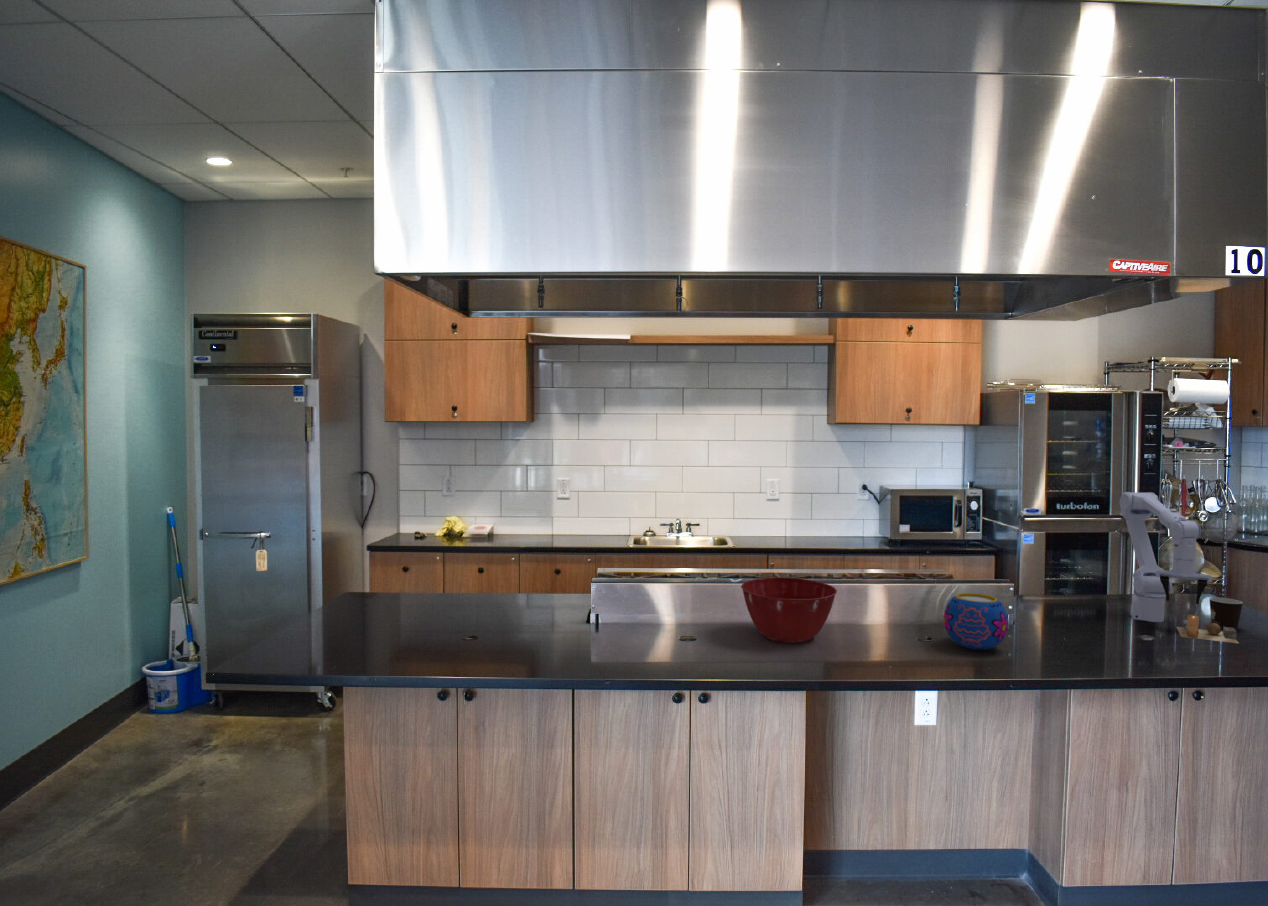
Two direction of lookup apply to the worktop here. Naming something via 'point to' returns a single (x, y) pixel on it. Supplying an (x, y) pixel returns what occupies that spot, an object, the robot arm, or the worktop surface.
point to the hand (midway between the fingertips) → (1182, 602)
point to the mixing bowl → (788, 607)
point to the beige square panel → (1224, 636)
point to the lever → (1192, 625)
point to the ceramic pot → (976, 621)
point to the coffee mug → (1225, 612)
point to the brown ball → (1213, 628)
